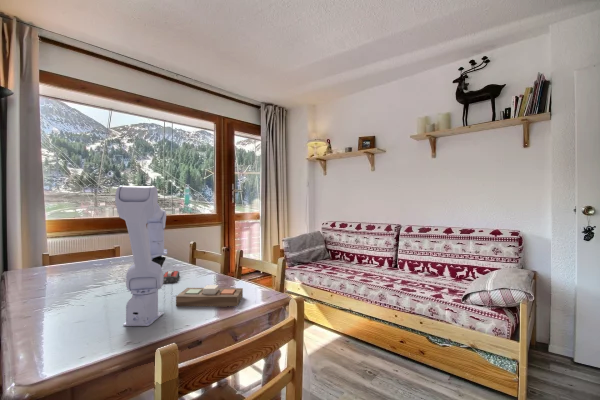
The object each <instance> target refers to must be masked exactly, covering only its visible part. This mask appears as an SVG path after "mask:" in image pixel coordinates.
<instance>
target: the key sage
mask: <svg viewBox="0 0 600 400" xmlns="http://www.w3.org/2000/svg"><path fill="white" fill-rule="evenodd" d="M201 291H202V289H190V290H189V291H187V292H186V294H199V293H200V292H201Z"/></svg>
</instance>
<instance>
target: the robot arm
mask: <svg viewBox="0 0 600 400" xmlns="http://www.w3.org/2000/svg"><path fill="white" fill-rule="evenodd" d="M158 200H159V193H158V188H157V187H156V186H155V185H152V186H150V185H148V186H145V185H144V186H143V185H137V186H135V185H119V186H118V187H117V188H116V190H115V197H114V203H115V206H116V211H117V214H118V217H119V218H120V219H122V220H124V221H125V225H126V228H127V234H128V238H129V243H130V249H131V253H132V258H133V264H131V265H130V266H129V268H128V269H127V272H126V274H125V281H126V283H125V284H126V285H125V286H126V289H127V291H128V292H130V295H131V297H130V299H128V301H127V302H126V304H125V305H126V306H125V322H124V323H123V324H122V326H123V327H124V326H125V327H127V326H129V327H132V326H133V327H149V326H150V325H152V324H153V323H154V322H156V321H157V320H158V319H159V318H160V317H161V316H163V314H164V312H163V311H159V290H161V288H162V287H163V286H164V283H163V280H164V274H165V273H164V271H163V265H164V262H165V261H166V255H168V249H166V248H165V229H166V221H167V210H166V209H165V210H164V208H162V207H161V206H160V204H159V201H158Z"/></svg>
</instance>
